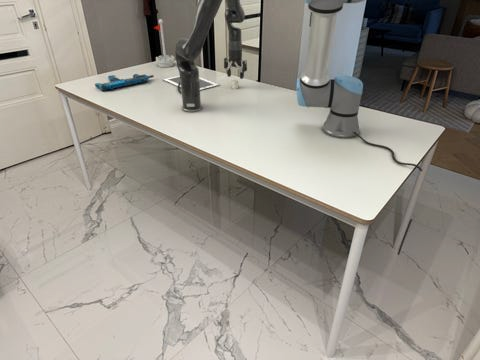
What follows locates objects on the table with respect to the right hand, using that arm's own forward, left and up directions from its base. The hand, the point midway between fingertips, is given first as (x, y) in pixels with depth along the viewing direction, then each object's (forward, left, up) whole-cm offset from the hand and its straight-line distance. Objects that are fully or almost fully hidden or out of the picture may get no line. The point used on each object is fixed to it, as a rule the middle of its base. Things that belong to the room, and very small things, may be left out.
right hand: (316, 28), depth 162 cm
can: (+37, +26, -36) cm, 58 cm away
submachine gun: (+76, +84, -36) cm, 119 cm away
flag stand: (+105, +50, -36) cm, 122 cm away
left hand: (+37, +26, -30) cm, 54 cm away
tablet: (+58, +47, -36) cm, 83 cm away
